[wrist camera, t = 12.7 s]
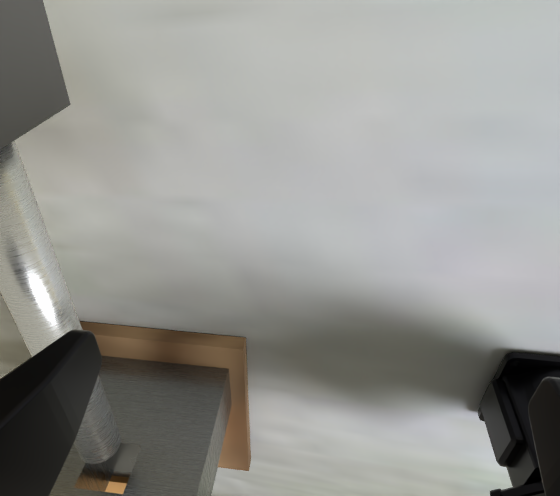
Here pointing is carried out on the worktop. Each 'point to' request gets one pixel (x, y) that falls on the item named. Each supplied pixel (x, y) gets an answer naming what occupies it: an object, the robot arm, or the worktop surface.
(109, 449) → the shaft
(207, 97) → the worktop surface
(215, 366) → the stand
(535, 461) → the robot arm
